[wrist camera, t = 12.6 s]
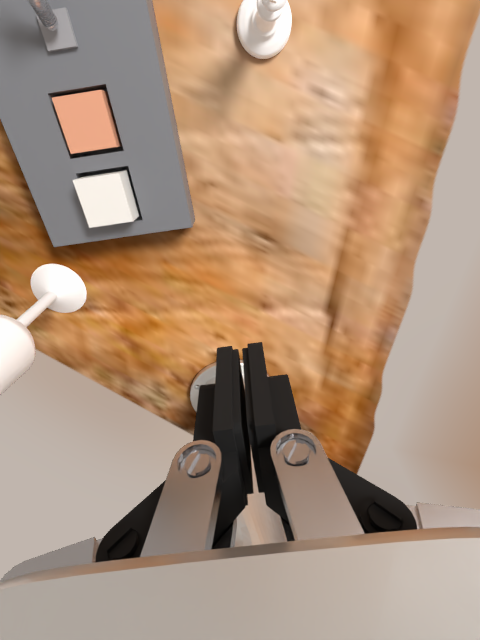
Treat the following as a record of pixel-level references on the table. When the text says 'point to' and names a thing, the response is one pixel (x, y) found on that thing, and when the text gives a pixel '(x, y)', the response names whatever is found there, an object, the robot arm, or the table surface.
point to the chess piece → (264, 26)
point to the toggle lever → (45, 13)
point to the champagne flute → (52, 292)
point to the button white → (106, 198)
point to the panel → (127, 103)
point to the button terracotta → (87, 121)
